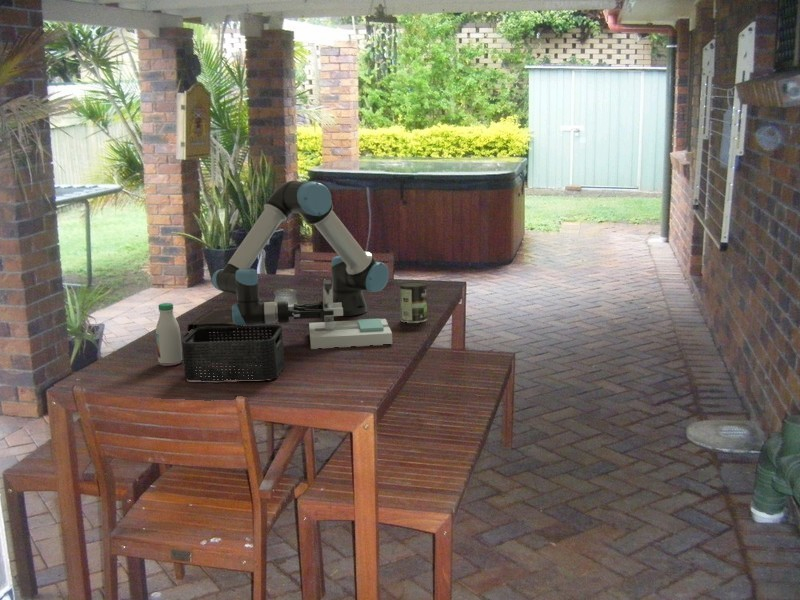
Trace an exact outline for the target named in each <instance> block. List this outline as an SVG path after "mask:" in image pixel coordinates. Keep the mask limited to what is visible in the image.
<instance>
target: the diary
mask: <svg viewBox="0 0 800 600" xmlns="http://www.w3.org/2000/svg"><path fill="white" fill-rule="evenodd" d="M220 326H241V325H235V324H234V323H233V318H232V307H231V308H230V307H227V308H226V307H225V308H211V309H209V310H208V311H206V313H204V314H202V315H200V316H199V317H198V318H196V319H195V320H194V321H192V322H190V323H188V324H187V332H188V331H190V330H191V329H193V330H194V329H196V328H201V327H220ZM242 326H243V325H242ZM213 330H214V329H213ZM229 332H231V331H229Z"/></svg>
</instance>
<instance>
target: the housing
mask: <svg viewBox="0 0 800 600" xmlns="http://www.w3.org/2000/svg"><path fill="white" fill-rule="evenodd" d="M358 320H359V319H355V320H341V321H340V320H337V321H335V320H334V330H327V331H325V321H323V322H322V321H321V322H317V321H316V322H308V324H309V325H308V328H309V340H310V342H309V343H310V349H311V350H319V349H318V348H322V349H335V348H334V347H339V348H350V347H351V346H356V347H369V346H370V345H373V346H384V345H383V344H391V345H393V333H392V332H393V331H392V329H391V328H390V326H389V323H388V321H387V319H386V318H380V320H381V323H382V325H383V327H384V331H371V332H361V331H360V328H359V325H358ZM351 348H352V347H351Z"/></svg>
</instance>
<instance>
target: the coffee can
mask: <svg viewBox="0 0 800 600" xmlns="http://www.w3.org/2000/svg"><path fill="white" fill-rule="evenodd" d="M399 296H400V297H399V299H400V303H399V304H400V321H401V322H402V323H405V322H407V323H406V324H419V323H420V322H421V323H425V322H427V321H428V308H427V307H428V303H427V301H428V300H427V299H428V298H427V283H426V282H424V281H405V282H402V283H400V284H399Z"/></svg>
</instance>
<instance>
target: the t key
mask: <svg viewBox="0 0 800 600" xmlns="http://www.w3.org/2000/svg"><path fill="white" fill-rule="evenodd" d="M322 292H323V293H322V294H323V296H322V297H323V303H324V309H326V308H333V286H332V279H323V287H322ZM324 309H323V310H324ZM334 318H335V316H328V317H324V322H325V331H327V330H334V322H335V319H334Z"/></svg>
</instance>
